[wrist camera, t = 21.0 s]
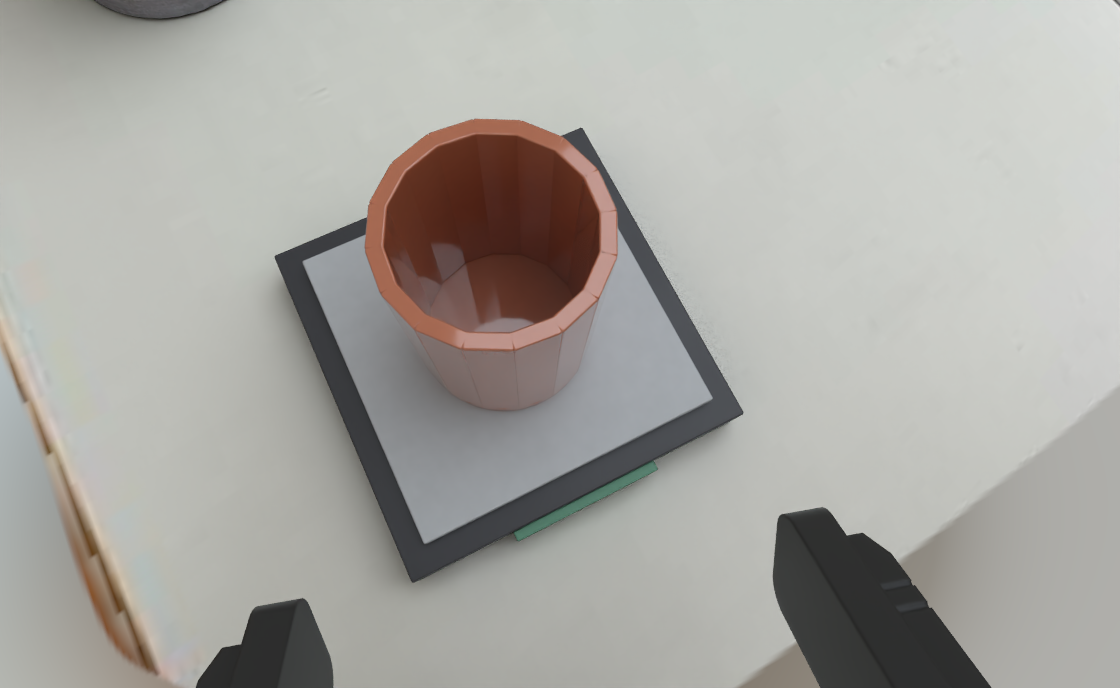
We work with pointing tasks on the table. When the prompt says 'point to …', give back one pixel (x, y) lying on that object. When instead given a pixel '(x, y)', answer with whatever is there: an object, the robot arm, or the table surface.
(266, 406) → the table surface
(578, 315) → the cup
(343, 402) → the scale
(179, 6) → the pillar candle
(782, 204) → the table surface
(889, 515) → the table surface
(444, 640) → the table surface
